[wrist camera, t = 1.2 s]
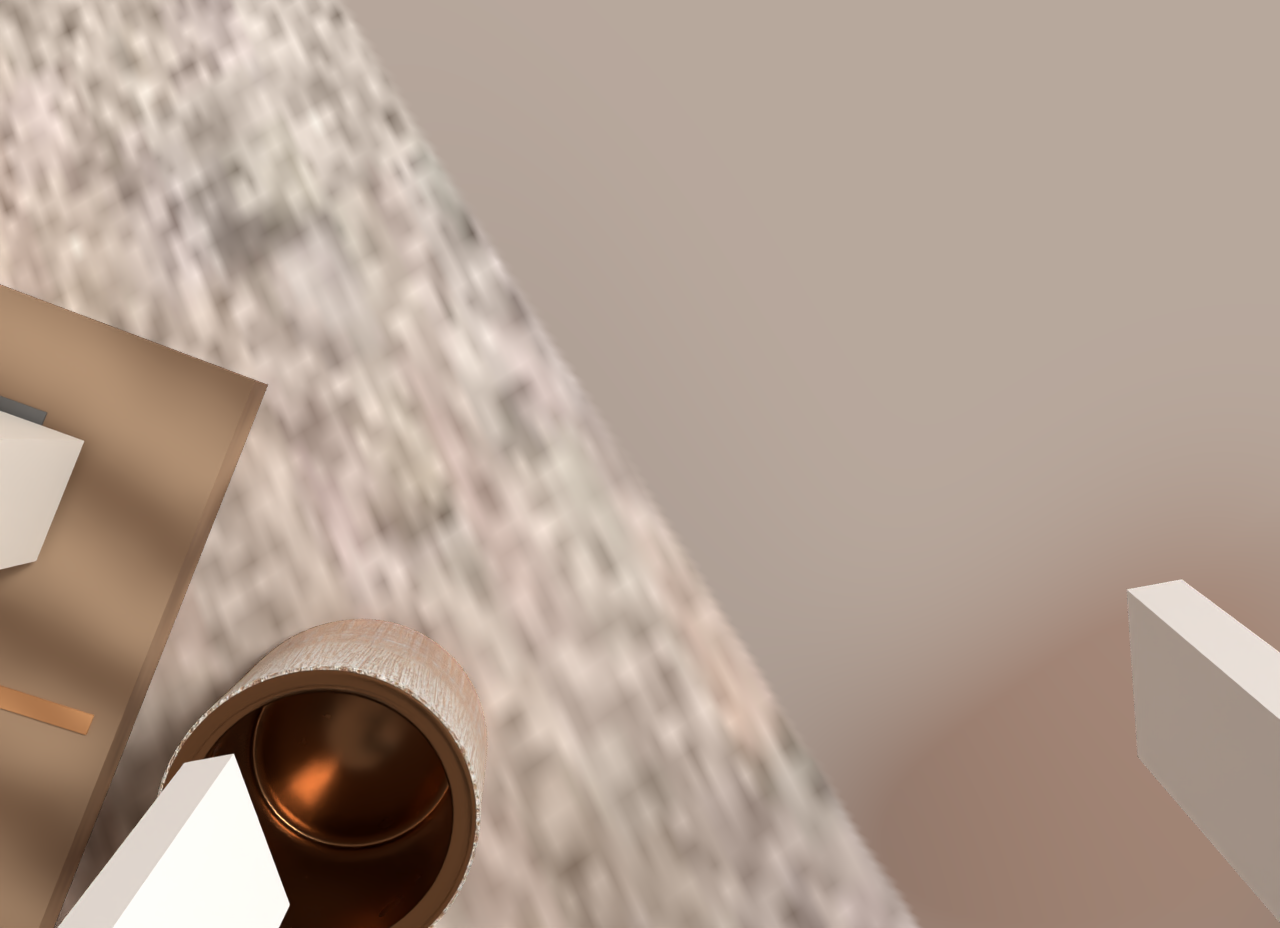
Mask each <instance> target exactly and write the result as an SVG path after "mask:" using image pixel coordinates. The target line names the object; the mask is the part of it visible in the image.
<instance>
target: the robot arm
mask: <svg viewBox="0 0 1280 928" xmlns="http://www.w3.org/2000/svg"><path fill="white" fill-rule="evenodd" d="M1127 602H1128V616H1129V632H1130V647H1131V663H1132V678H1133V693H1134V708H1135V723H1136V739H1137V753H1138V758H1139V759H1140V760H1141V761H1142V762H1143V764H1144V765H1145V766H1146V767H1147V768H1148V770H1149V771H1150V772H1151V773H1152V774H1153V775H1154V776H1155V778H1156V779H1157V780H1158V781H1159V782H1160V784H1161V785H1162V786H1163V787H1164V788H1165V789H1166V790H1167V792H1168V793H1169V794H1170V795H1171V796H1172V797H1173V799H1174V800H1175V801H1176V802H1177V803H1178V805H1179V806H1180V807H1181V808H1182V809H1183V810H1184V812H1185V813H1186V814H1187V815H1188V816H1189V817H1190V819H1192V821H1193V822H1194V823H1195V824H1196V826H1197V827H1198V828H1199V829H1200V830H1201V831H1202V832H1203V834H1204V835H1205V836H1206V837H1207V838H1208V839H1209V841H1210V842H1211V843H1212V844H1213V845H1214V846H1215V848H1216V849H1217V850H1218V851H1219V852H1220V853H1221V854H1222V856H1223V857H1224V858H1225V859H1226V860H1227V861H1228V863H1229V864H1230V865H1231V866H1232V867H1233V868H1234V870H1235V871H1236V872H1237V873H1238V874H1239V876H1240V877H1241V878H1242V879H1243V880H1244V881H1245V882H1246V884H1247V885H1248V886H1249V887H1250V888H1251V890H1252V891H1253V892H1254V893H1255V894H1256V895H1257V896H1258V898H1259V899H1260V900H1261V901H1262V902H1263V904H1264V905H1265V906H1266V907H1267V908H1268V909H1269V911H1270V912H1271V913H1272V914H1273V915H1274V916H1275V918H1276V919H1277V920H1278V921H1279V922H1280V652H1278V651H1277V650H1276V649H1274V648H1273V647H1272V646H1270V645H1269V644H1268V643H1266V642H1265V641H1264V640H1262V639H1261V638H1259V637H1258V636H1257V635H1256V634H1254V633H1253V632H1252V631H1250V630H1249V629H1248V628H1246V627H1245V626H1243V625H1242V624H1241V623H1239V622H1238V621H1237V620H1235V619H1234V618H1233V617H1231V616H1230V615H1229V614H1227V613H1226V612H1225V611H1223V610H1222V609H1221V608H1219V607H1218V606H1217V605H1215V604H1214V603H1213V602H1211V601H1210V600H1209V599H1207V598H1206V597H1204V596H1203V595H1202V594H1200V593H1199V592H1198V591H1196V590H1195V589H1193V588H1192V587H1191V586H1190V585H1188V584H1187V583H1186V582H1184V581H1183V580H1177V581H1171V582H1165V583H1160V584H1154V585H1149V586H1143V587H1139V588H1133V589H1127ZM289 905H290V904H289V901H288V899H287V896H286V893H285V890H284V888H283V885H282V882H281V880H280V877H279V874H278V872H277V869H276V866H275V863H274V861H273V858H272V855H271V853H270V850H269V847H268V845H267V842H266V839H265V836H264V834H263V831H262V828H261V826H260V823H259V820H258V818H257V815H256V812H255V809H254V807H253V804H252V801H251V799H250V796H249V793H248V791H247V788H246V785H245V783H244V780H243V777H242V774H241V772H240V769H239V766H238V764H237V761H236V758H235V756H234V754H229V755H224V756H218V757H213V758H207V759H202V760H197V761H191V762H186V763H184V764H183V765H182V767H181V768H180V769H179V770H178V772H177V773H176V774H175V776H174V777H173V778H172V780H171V781H170V782H169V783H168V785H167V786H166V787H165V789H164V790H163V791H162V793H161V794H160V795H159V796H158V798H157V799H156V800H155V802H154V803H153V804H152V806H151V807H150V808H149V809H148V811H147V812H146V813H145V815H144V816H143V817H142V819H141V820H140V821H139V822H138V824H137V825H136V826H135V828H134V829H133V830H132V832H131V833H130V834H129V835H128V837H127V838H126V839H125V841H124V842H123V843H122V845H121V846H120V847H119V848H118V850H117V851H116V852H115V854H114V855H113V856H112V858H111V859H110V860H109V861H108V863H107V864H106V865H105V867H104V868H103V869H102V871H101V872H100V873H99V874H98V876H97V877H96V878H95V880H94V881H93V882H92V884H91V885H90V886H89V887H88V889H87V890H86V891H85V893H84V894H83V895H82V897H81V898H80V899H79V900H78V902H77V903H76V904H75V906H74V907H73V908H72V910H71V911H70V912H69V913H68V915H67V916H66V917H65V919H64V920H63V921H62V923H61V924H60V925H59V926H58V928H279V927H280V924H281V922H282V920H283V918H284V916H285V914H286V912H287V910H288V908H289Z"/></svg>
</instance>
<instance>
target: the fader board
mask: <svg viewBox="0 0 1280 928" xmlns="http://www.w3.org/2000/svg"><path fill="white" fill-rule="evenodd" d="M267 386H268V385H267V384H264V383H262V382H259V381H256V380H254V379H251V378H248V377H246V376H243V375H240V374H238V373H235V372H232V371H230V370H227V369H224V368H222V367H219V366H216V365H214V364H211V363H208V362H206V361H203V360H200V359H198V358H195V357H192V356H190V355H187V354H184V353H182V352H179V351H176V350H174V349H171V348H168V347H166V346H163V345H160V344H158V343H155V342H152V341H150V340H147V339H144V338H142V337H139V336H136V335H134V334H131V333H128V332H126V331H123V330H120V329H118V328H115V327H112V326H110V325H107V324H104V323H102V322H99V321H96V320H94V319H91V318H88V317H86V316H83V315H80V314H78V313H75V312H72V311H70V310H67V309H64V308H62V307H59V306H56V305H54V304H51V303H48V302H46V301H43V300H40V299H38V298H35V297H32V296H30V295H27V294H24V293H22V292H19V291H16V290H14V289H11V288H8V287H6V286H3V285H0V411H2V412H5V413H8V414H11V415H14V416H16V417H19V418H22V419H25V420H28V421H30V422H33V423H36V424H39V425H42V426H44V427H47V428H50V429H53V430H56V431H58V432H61V433H64V434H67V435H70V436H72V437H75V438H78V439H81V440H84V443H83V446H82V448H81V451H80V453H79V456H78V458H77V461H76V463H75V466H74V468H73V471H72V473H71V476H70V478H69V481H68V483H67V486H66V488H65V491H64V493H63V496H62V498H61V501H60V503H59V505H58V508H57V510H56V513H55V515H54V518H53V520H52V523H51V525H50V528H49V530H48V533H47V535H46V538H45V540H44V543H43V545H42V548H41V550H40V553H39V555H38V558H37V560H36V561H34V562H30V563H26V564H22V565H17V566H13V567H9V568H5V569H0V928H54V926H55V923H56V921H57V918H58V916H59V913H60V910H61V908H62V905H63V903H64V900H65V898H66V895H67V893H68V890H69V888H70V885H71V883H72V880H73V877H74V875H75V872H76V870H77V867H78V865H79V862H80V860H81V857H82V855H83V852H84V850H85V847H86V845H87V842H88V839H89V837H90V834H91V832H92V829H93V827H94V824H95V822H96V819H97V817H98V814H99V812H100V809H101V807H102V804H103V801H104V799H105V796H106V794H107V791H108V789H109V786H110V784H111V781H112V779H113V776H114V774H115V771H116V769H117V766H118V763H119V761H120V758H121V756H122V753H123V751H124V748H125V746H126V743H127V741H128V738H129V736H130V733H131V730H132V728H133V725H134V723H135V720H136V718H137V715H138V713H139V710H140V708H141V705H142V703H143V700H144V698H145V695H146V692H147V690H148V687H149V685H150V682H151V680H152V677H153V675H154V672H155V670H156V667H157V665H158V662H159V660H160V657H161V654H162V652H163V649H164V647H165V644H166V642H167V639H168V637H169V634H170V632H171V629H172V627H173V624H174V622H175V619H176V616H177V614H178V611H179V609H180V606H181V604H182V601H183V599H184V596H185V594H186V591H187V589H188V586H189V584H190V581H191V578H192V576H193V573H194V571H195V568H196V566H197V563H198V561H199V558H200V556H201V553H202V551H203V548H204V545H205V543H206V540H207V538H208V535H209V533H210V530H211V528H212V525H213V523H214V520H215V518H216V515H217V513H218V510H219V507H220V505H221V502H222V500H223V497H224V495H225V492H226V490H227V487H228V485H229V482H230V480H231V477H232V475H233V472H234V469H235V467H236V464H237V462H238V459H239V457H240V454H241V452H242V449H243V447H244V444H245V442H246V439H247V437H248V434H249V431H250V429H251V426H252V424H253V421H254V419H255V416H256V414H257V411H258V409H259V406H260V404H261V401H262V399H263V396H264V393H265V391H266V388H267Z"/></svg>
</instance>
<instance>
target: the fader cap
mask: <svg viewBox="0 0 1280 928" xmlns="http://www.w3.org/2000/svg"><path fill="white" fill-rule="evenodd" d="M83 443H84V440H81V439H78V438H75V437H72V436H70V435H67V434H64V433H61V432H58V431H56V430H53V429H50V428H47V427H44V426H42V425H39V424H36V423H33V422H30V421H28V420H25V419H22V418H19V417H16V416H14V415H11V414H8V413H5V412H2V411H0V569H5V568H9V567H13V566H17V565H22V564H26V563H30V562H34V561H36V560H37V558H38V555H39V553H40V550H41V548H42V545H43V543H44V540H45V538H46V535H47V533H48V530H49V528H50V525H51V523H52V520H53V518H54V515H55V513H56V510H57V508H58V505H59V503H60V501H61V498H62V496H63V493H64V491H65V488H66V486H67V483H68V481H69V478H70V476H71V473H72V471H73V468H74V466H75V463H76V461H77V458H78V456H79V453H80V451H81V448H82V446H83Z"/></svg>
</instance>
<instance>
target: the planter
mask: <svg viewBox="0 0 1280 928" xmlns="http://www.w3.org/2000/svg"><path fill="white" fill-rule="evenodd" d="M229 754H234V756H235V758H236V761H237V764H238V766H239V769H240V772H241V774H242V777H243V780H244V783H245V785H246V788H247V791H248V793H249V796H250V799H251V801H252V804H253V807H254V809H255V812H256V815H257V818H258V820H259V823H260V826H261V828H262V831H263V834H264V836H265V839H266V842H267V845H268V847H269V850H270V853H271V855H272V858H273V861H274V863H275V866H276V869H277V872H278V874H279V877H280V880H281V882H282V885H283V888H284V890H285V893H286V896H287V899H288V901H289V904H290V905H289V908H288V910H287V912H286V914H285V916H284V918H283V920H282V922H281V924H280V927H279V928H433V927H434V925H435V924H436V923H437V922H438V921H439V920H440V919H441V918H442V916H443V915H444V914H445V913H446V912H447V910H448V909H449V907H450V906H451V905H452V903H453V902H454V900H455V898H456V897H457V895H458V893H459V892H460V890H461V888H462V886H463V884H464V882H465V880H466V878H467V875H468V873H469V870H470V868H471V865H472V862H473V859H474V855H475V851H476V847H477V843H478V837H479V830H480V818H481V804H482V794H483V785H484V776H485V767H486V756H487V730H486V723H485V717H484V713H483V709H482V706H481V703H480V700H479V697H478V695H477V693H476V690H475V688H474V687H473V685H472V683H471V681H470V679H469V678H468V676H467V674H466V673H465V671H464V670H463V669H462V667H461V666H460V665H459V663H458V662H457V661H456V660H455V659H454V658H453V657H452V656H451V655H450V654H449V653H448V652H447V651H446V650H445V649H444V648H442V647H441V646H440V645H439V644H437V643H436V642H435V641H433V640H432V639H430V638H429V637H427V636H425V635H423V634H421V633H419V632H417V631H415V630H413V629H410V628H408V627H405V626H403V625H399V624H396V623H392V622H387V621H381V620H373V619H350V620H342V621H336V622H331V623H327V624H323V625H319V626H316V627H313V628H310V629H308V630H306V631H303V632H301V633H299V634H297V635H295V636H293V637H291V638H290V639H288V640H286V641H285V642H283V643H282V644H280V645H279V646H277V647H276V648H275V649H273V650H272V651H271V652H270V653H269V654H267V655H266V656H265V657H264V658H263V659H262V660H261V661H260V662H259V663H257V664H256V665H255V666H254V667H253V668H252V669H251V670H250V671H249V672H248V673H247V674H246V675H245V676H244V677H243V678H242V679H241V680H240V681H239V682H238V683H237V684H236V685H235V686H234V687H233V688H232V689H231V690H229V691H228V692H227V693H226V694H225V695H224V696H223V697H222V698H221V699H220V700H218V701H217V702H216V703H215V704H214V705H213V706H212V707H211V708H210V709H208V710H207V711H206V712H205V713H204V714H203V715H202V716H201V717H200V718H199V719H198V721H197V722H196V723H195V724H194V725H193V726H192V727H191V729H190V730H189V731H188V733H187V734H186V735H185V737H184V738H183V739H182V741H181V742H180V744H179V745H178V747H177V749H176V750H175V752H174V754H173V755H172V757H171V759H170V761H169V763H168V765H167V768H166V770H165V772H164V775H163V778H162V781H161V784H160V787H159V790H158V794H157V798H158V796H159V795H160V794H161V793H162V791H163V790H164V789H165V787H166V786H167V785H168V783H169V782H170V781H171V780H172V778H173V777H174V776H175V774H176V773H177V772H178V770H179V769H180V768H181V767H182V765H183V764H184V763H186V762H191V761H197V760H202V759H207V758H213V757H218V756H224V755H229ZM157 798H156V799H157Z"/></svg>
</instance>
